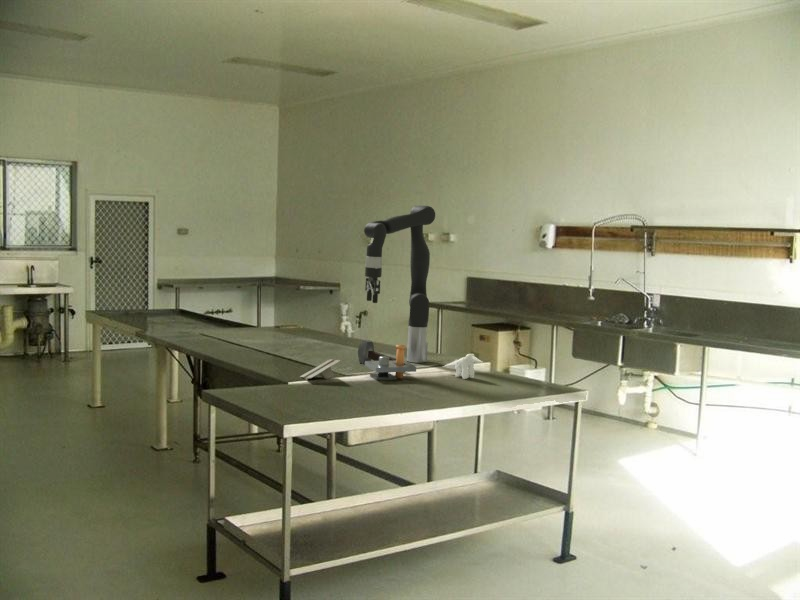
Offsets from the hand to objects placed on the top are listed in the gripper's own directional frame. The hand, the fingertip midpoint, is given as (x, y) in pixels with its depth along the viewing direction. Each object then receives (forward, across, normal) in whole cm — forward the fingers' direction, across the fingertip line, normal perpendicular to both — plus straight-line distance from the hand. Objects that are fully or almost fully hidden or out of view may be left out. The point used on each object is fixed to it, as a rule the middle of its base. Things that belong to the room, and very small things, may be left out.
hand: (371, 301), depth 386 cm
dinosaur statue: (+30, +28, +34) cm, 53 cm away
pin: (+30, +26, +6) cm, 40 cm away
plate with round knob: (+30, +26, +1) cm, 40 cm away
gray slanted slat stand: (+30, +27, -30) cm, 51 cm away
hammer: (+31, +2, +6) cm, 31 cm away
